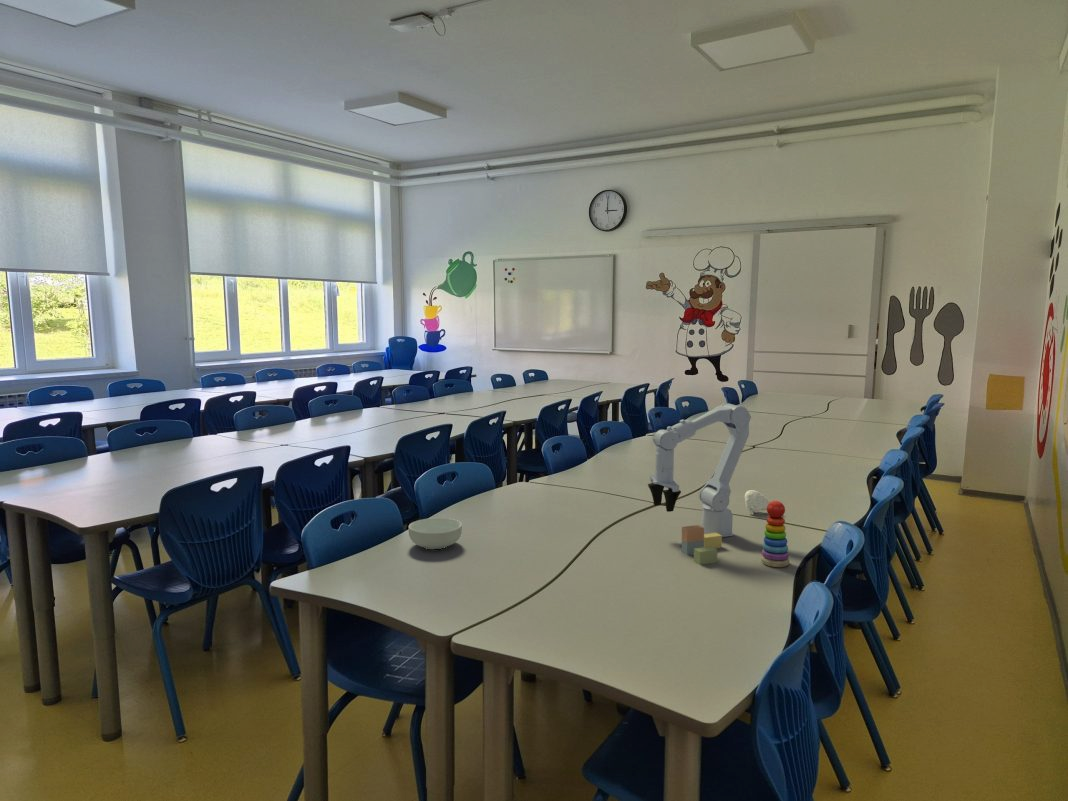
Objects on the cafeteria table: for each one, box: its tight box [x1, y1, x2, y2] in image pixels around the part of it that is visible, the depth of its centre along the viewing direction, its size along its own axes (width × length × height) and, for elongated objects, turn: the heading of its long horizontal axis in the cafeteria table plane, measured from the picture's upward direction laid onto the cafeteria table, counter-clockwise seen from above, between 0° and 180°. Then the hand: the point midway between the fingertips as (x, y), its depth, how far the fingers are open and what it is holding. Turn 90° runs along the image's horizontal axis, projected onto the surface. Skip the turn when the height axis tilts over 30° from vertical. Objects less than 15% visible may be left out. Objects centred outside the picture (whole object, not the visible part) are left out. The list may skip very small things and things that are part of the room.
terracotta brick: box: [681, 524, 704, 543], centre depth 204 cm, size 6×3×4 cm, turn 110°
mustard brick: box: [704, 533, 723, 549], centre depth 209 cm, size 6×3×4 cm, turn 111°
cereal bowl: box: [408, 517, 463, 550], centre depth 211 cm, size 17×17×7 cm
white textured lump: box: [744, 489, 772, 516], centre depth 244 cm, size 6×8×12 cm
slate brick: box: [681, 539, 704, 556], centre depth 205 cm, size 6×3×4 cm, turn 111°
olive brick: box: [693, 546, 718, 566], centre depth 197 cm, size 6×3×4 cm, turn 111°
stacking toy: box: [760, 500, 790, 568], centre depth 194 cm, size 8×8×19 cm
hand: (663, 508), depth 216 cm, fingers open, 7 cm apart
